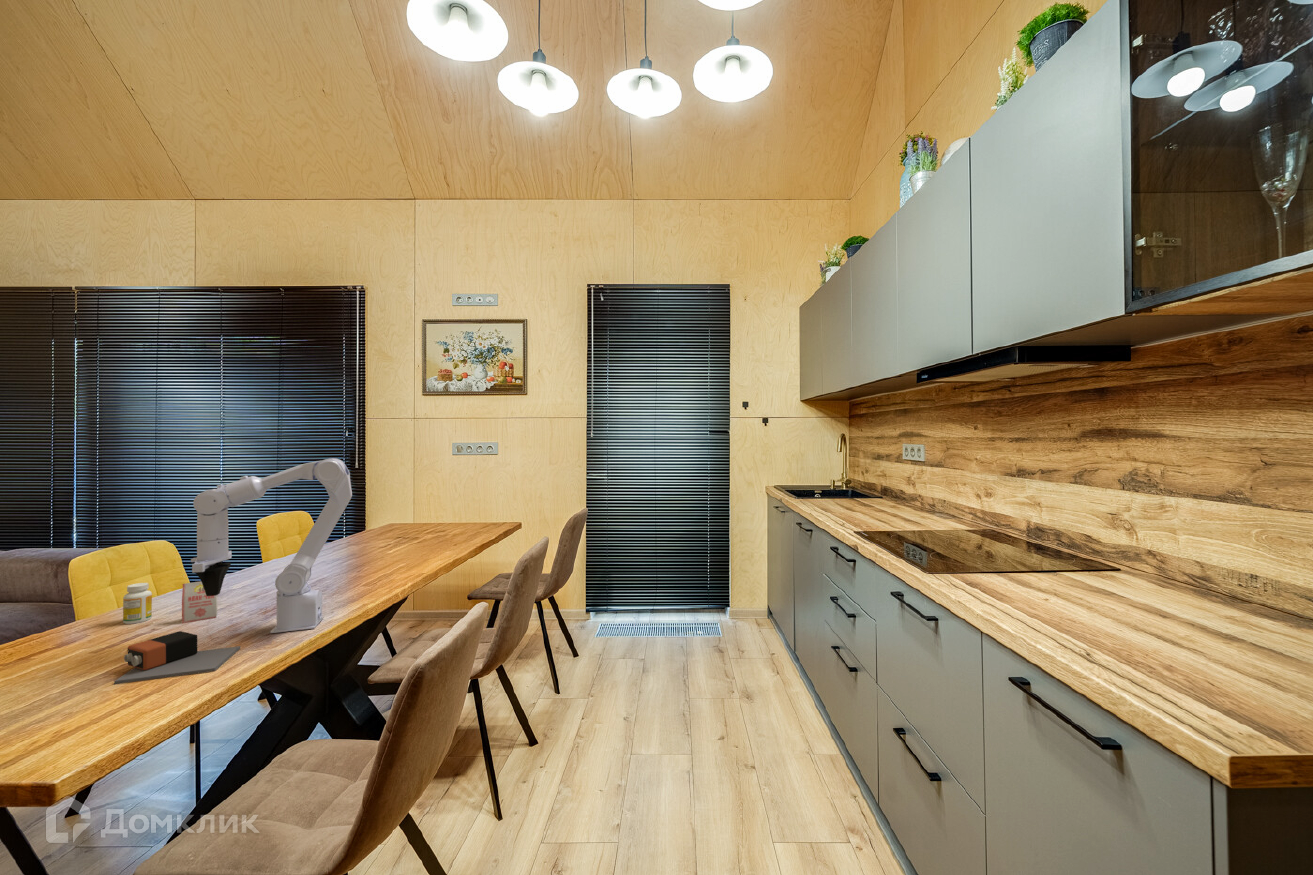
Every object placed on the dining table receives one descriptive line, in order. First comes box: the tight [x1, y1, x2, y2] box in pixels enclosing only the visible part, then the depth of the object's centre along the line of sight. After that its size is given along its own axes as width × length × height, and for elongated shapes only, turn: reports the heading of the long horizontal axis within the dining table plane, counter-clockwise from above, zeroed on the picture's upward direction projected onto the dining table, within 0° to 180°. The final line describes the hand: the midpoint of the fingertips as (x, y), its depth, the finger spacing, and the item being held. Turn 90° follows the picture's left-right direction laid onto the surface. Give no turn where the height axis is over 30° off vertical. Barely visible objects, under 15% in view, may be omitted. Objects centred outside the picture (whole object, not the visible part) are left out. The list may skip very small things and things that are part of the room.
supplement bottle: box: [122, 582, 153, 625], centre depth 134 cm, size 5×5×10 cm
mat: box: [113, 645, 241, 685], centre depth 107 cm, size 16×12×1 cm
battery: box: [123, 630, 198, 670], centre depth 108 cm, size 4×7×10 cm
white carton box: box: [181, 581, 218, 624], centre depth 136 cm, size 4×7×10 cm, turn 127°
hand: (213, 595), depth 122 cm, fingers closed
